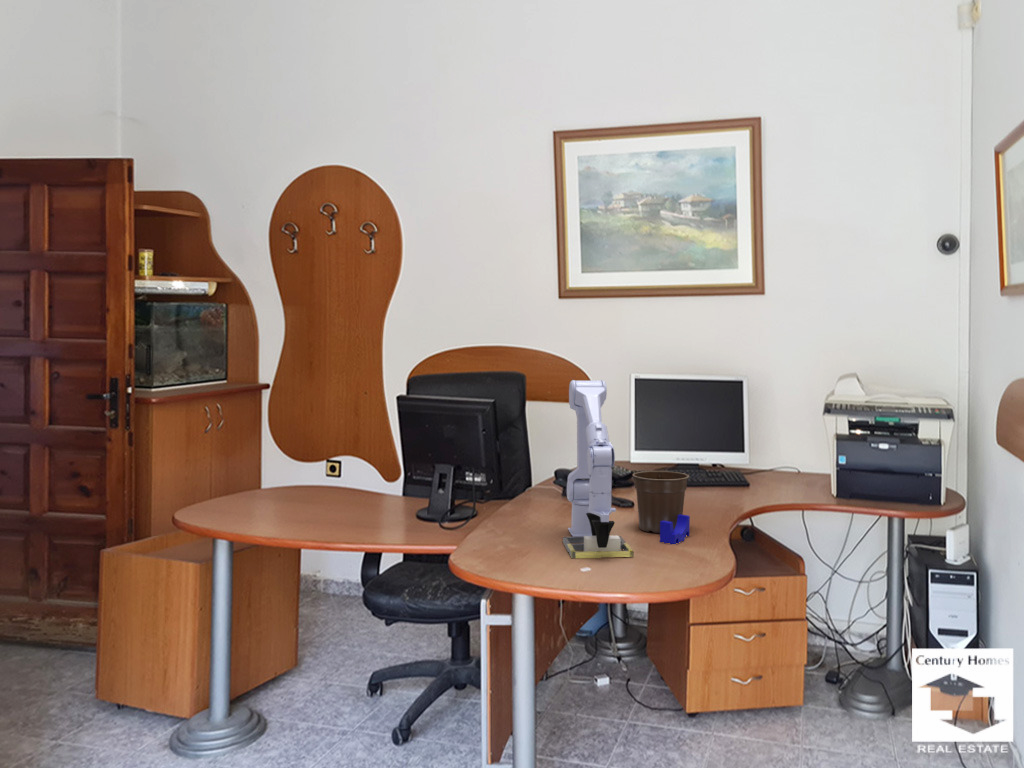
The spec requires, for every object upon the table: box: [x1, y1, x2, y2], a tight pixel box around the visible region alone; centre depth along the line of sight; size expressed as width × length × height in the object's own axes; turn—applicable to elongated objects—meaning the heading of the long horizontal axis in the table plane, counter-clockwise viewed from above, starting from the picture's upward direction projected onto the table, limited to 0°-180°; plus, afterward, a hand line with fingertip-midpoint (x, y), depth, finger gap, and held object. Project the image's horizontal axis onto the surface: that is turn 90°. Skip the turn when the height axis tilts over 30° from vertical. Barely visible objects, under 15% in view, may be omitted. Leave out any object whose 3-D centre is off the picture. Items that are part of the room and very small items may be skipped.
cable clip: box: [659, 514, 691, 545], centre depth 246 cm, size 12×4×6 cm, turn 143°
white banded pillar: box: [583, 534, 621, 552], centre depth 230 cm, size 4×9×5 cm, turn 94°
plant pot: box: [632, 470, 690, 534], centre depth 258 cm, size 16×16×16 cm
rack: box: [562, 535, 635, 559], centre depth 234 cm, size 17×16×2 cm
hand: (599, 543), depth 230 cm, fingers open, 7 cm apart
